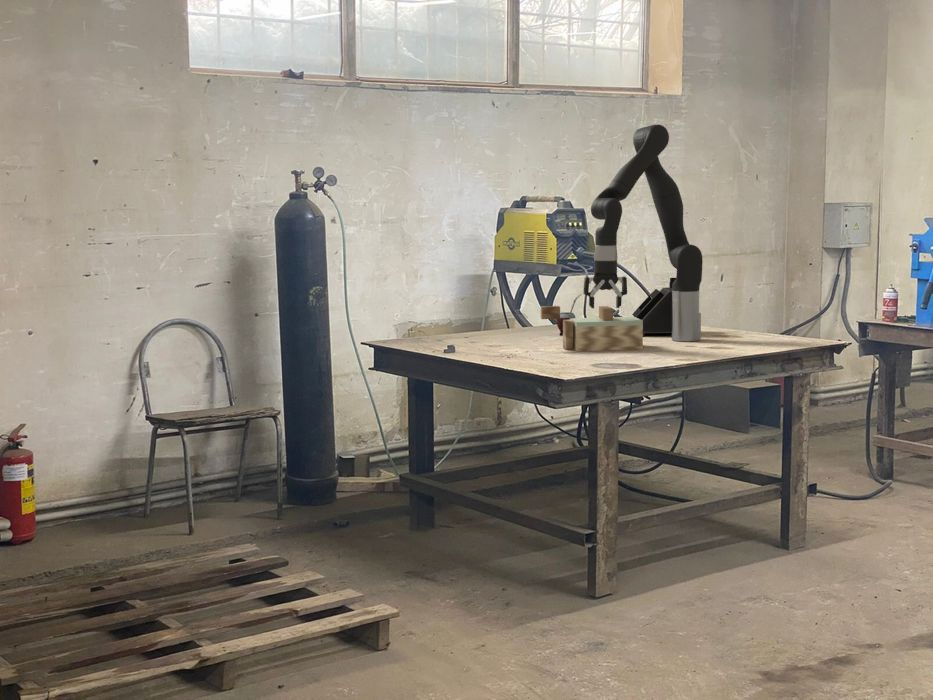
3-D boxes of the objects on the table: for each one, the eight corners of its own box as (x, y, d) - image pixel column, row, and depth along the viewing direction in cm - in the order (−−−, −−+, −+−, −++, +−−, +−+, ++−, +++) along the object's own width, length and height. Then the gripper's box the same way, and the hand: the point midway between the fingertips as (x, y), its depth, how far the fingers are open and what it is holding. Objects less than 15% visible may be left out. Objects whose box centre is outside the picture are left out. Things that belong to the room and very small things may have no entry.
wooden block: (558, 317, 376) (558, 305, 375) (560, 318, 373) (560, 306, 372) (540, 318, 375) (540, 306, 375) (542, 319, 372) (542, 307, 372)
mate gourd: (552, 334, 414) (552, 294, 412) (567, 333, 419) (567, 292, 417) (567, 336, 408) (567, 295, 406) (582, 334, 413) (582, 293, 411)
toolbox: (633, 344, 384) (634, 316, 383) (642, 349, 372) (642, 320, 371) (561, 346, 382) (561, 318, 381) (567, 351, 370) (567, 322, 369)
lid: (634, 321, 383) (634, 304, 382) (642, 325, 371) (642, 308, 371) (569, 322, 381) (569, 306, 380) (576, 326, 369) (576, 310, 369)
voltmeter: (631, 331, 421) (631, 277, 418) (675, 331, 420) (676, 277, 418) (636, 337, 405) (636, 281, 402) (682, 336, 404) (682, 280, 402)
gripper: (624, 258, 378) (623, 306, 380) (582, 258, 377) (581, 307, 379) (629, 259, 370) (628, 308, 373) (586, 259, 369) (586, 309, 371)
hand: (605, 308), depth 376 cm, fingers open, 8 cm apart
